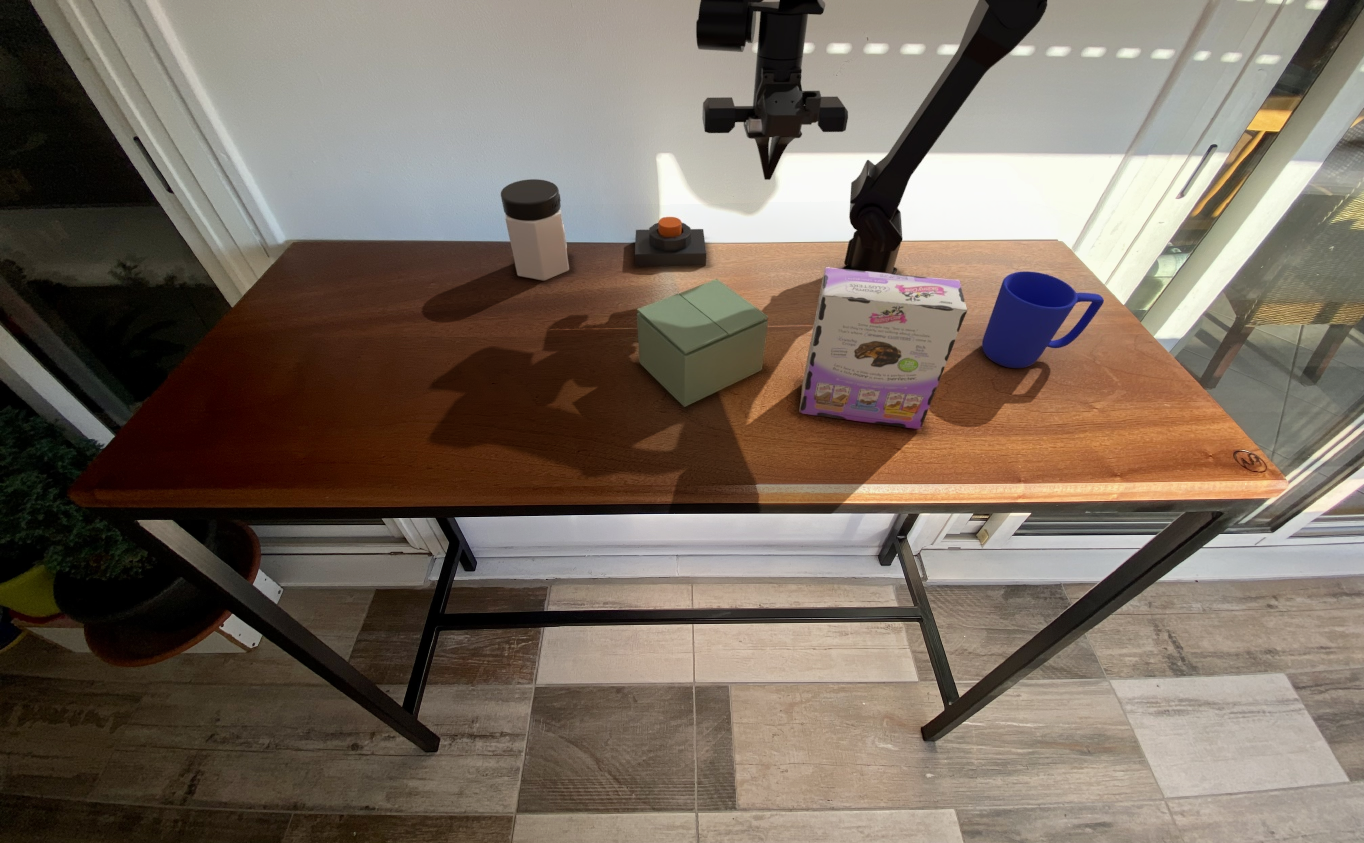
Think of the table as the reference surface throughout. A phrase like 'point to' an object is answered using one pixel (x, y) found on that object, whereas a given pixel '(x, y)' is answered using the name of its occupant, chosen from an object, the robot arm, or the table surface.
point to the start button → (670, 227)
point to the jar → (535, 228)
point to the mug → (1032, 318)
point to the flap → (723, 306)
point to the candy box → (880, 346)
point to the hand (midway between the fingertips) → (767, 178)
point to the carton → (695, 349)
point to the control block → (670, 248)
